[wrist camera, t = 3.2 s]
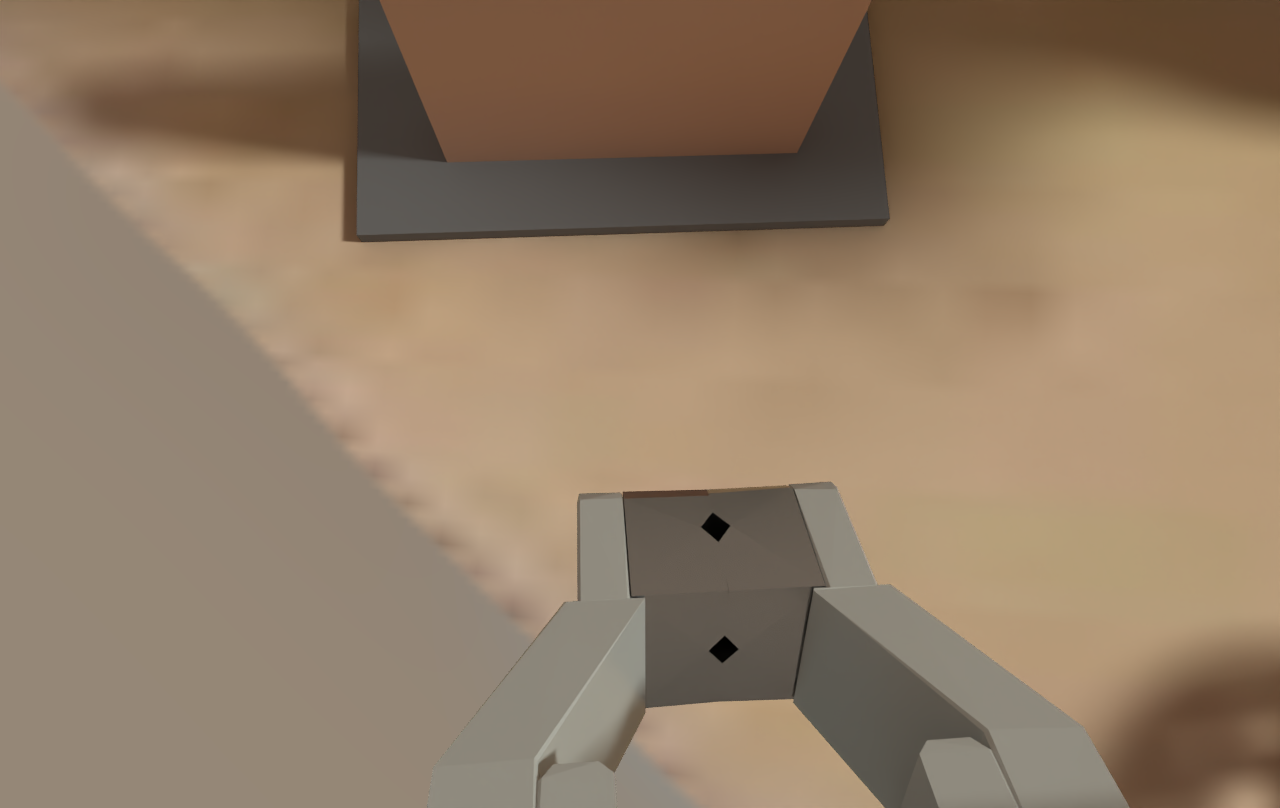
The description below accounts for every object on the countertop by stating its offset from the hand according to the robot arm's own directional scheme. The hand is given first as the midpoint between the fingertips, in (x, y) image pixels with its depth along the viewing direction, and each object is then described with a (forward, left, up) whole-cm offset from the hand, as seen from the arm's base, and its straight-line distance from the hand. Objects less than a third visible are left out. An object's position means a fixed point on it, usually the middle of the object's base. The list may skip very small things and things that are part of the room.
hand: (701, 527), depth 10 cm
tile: (0, -14, -16) cm, 21 cm away
